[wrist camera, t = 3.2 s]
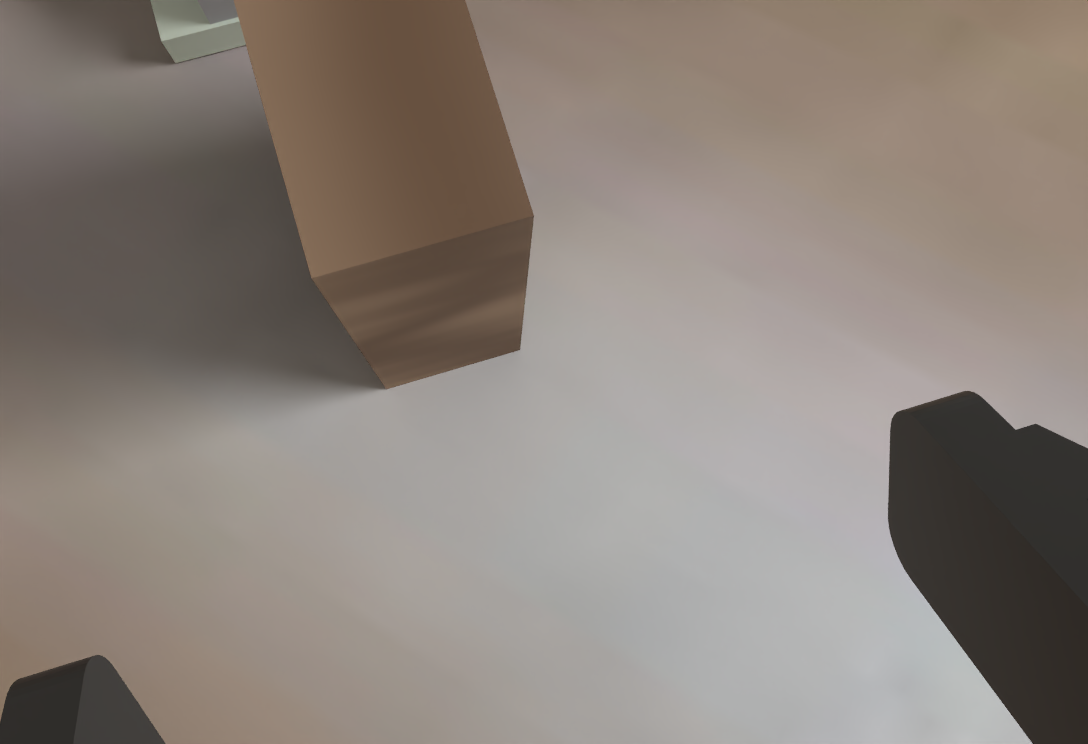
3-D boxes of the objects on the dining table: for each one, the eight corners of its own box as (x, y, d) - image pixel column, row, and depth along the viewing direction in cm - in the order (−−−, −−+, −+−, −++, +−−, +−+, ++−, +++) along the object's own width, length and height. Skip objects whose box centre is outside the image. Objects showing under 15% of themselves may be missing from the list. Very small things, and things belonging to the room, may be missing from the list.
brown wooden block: (386, 389, 22) (311, 278, 13) (313, 135, 23) (198, -127, 14) (520, 349, 22) (533, 215, 14) (442, 100, 23) (408, -177, 15)
